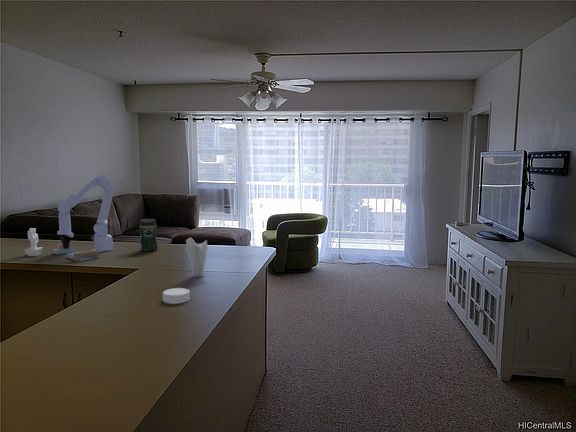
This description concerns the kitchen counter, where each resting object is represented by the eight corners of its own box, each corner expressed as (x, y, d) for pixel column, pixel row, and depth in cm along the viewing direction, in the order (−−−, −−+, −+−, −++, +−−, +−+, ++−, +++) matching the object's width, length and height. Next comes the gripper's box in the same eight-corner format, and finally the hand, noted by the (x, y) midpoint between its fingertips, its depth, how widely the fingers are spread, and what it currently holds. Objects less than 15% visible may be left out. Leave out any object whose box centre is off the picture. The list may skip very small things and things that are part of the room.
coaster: (175, 306, 160) (175, 297, 159) (157, 301, 165) (156, 292, 165) (195, 299, 168) (195, 290, 168) (176, 294, 173) (176, 286, 173)
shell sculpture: (210, 274, 203) (209, 236, 201) (201, 279, 196) (200, 239, 193) (194, 273, 206) (194, 235, 204) (185, 277, 198) (184, 238, 196)
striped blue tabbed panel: (85, 254, 244) (85, 247, 243) (99, 257, 235) (98, 250, 235) (63, 257, 234) (63, 250, 234) (77, 261, 226) (76, 254, 225)
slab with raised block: (69, 250, 252) (68, 242, 251) (73, 251, 249) (73, 243, 248) (53, 253, 245) (52, 244, 244) (57, 254, 242) (56, 245, 241)
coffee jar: (156, 248, 262) (156, 217, 259) (157, 251, 254) (156, 219, 252) (139, 249, 258) (138, 218, 256) (140, 252, 251) (139, 220, 249)
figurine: (44, 253, 245) (42, 226, 244) (38, 256, 236) (36, 229, 234) (30, 253, 244) (28, 227, 242) (23, 257, 235) (21, 229, 233)
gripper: (51, 223, 244) (52, 247, 245) (64, 226, 235) (65, 251, 237) (64, 222, 249) (65, 246, 251) (76, 225, 241) (78, 249, 242)
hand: (66, 248), depth 244 cm, fingers closed
